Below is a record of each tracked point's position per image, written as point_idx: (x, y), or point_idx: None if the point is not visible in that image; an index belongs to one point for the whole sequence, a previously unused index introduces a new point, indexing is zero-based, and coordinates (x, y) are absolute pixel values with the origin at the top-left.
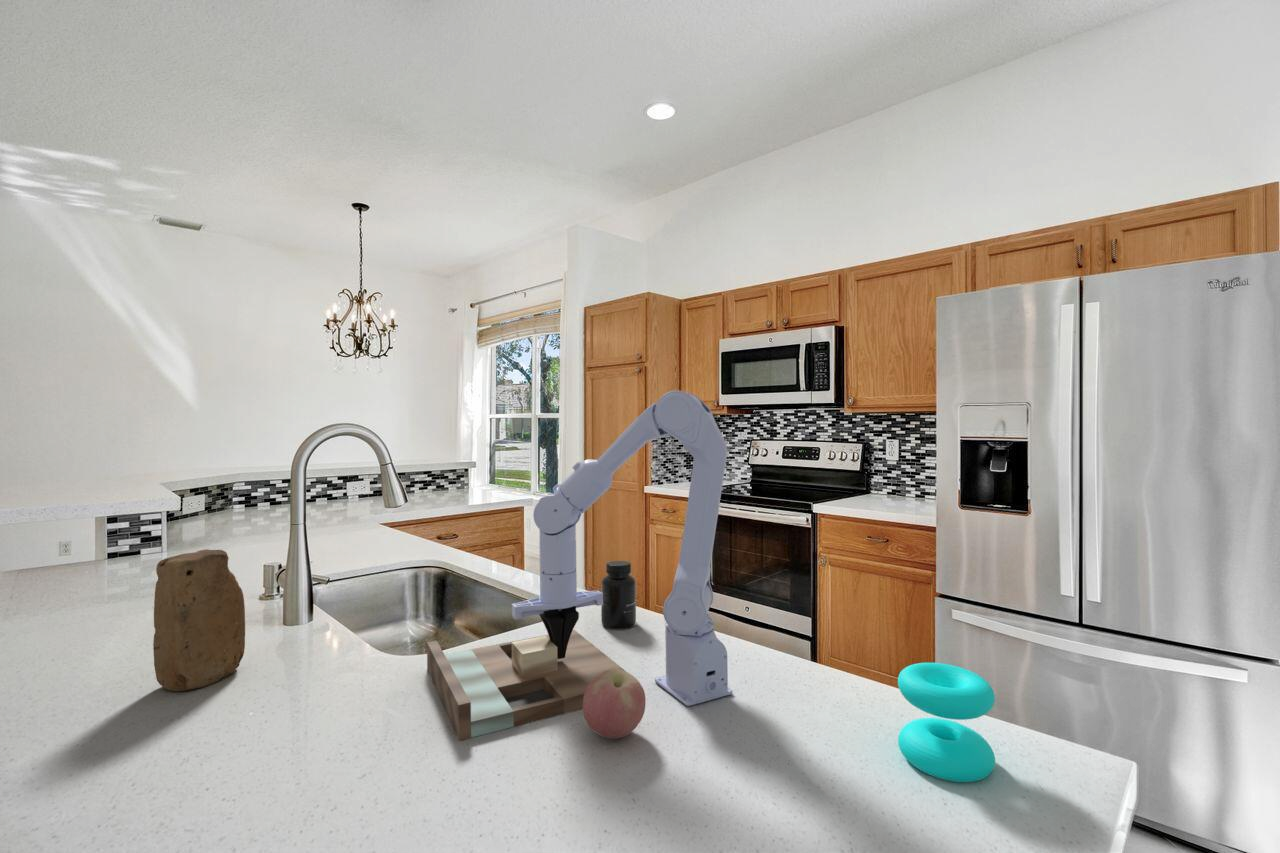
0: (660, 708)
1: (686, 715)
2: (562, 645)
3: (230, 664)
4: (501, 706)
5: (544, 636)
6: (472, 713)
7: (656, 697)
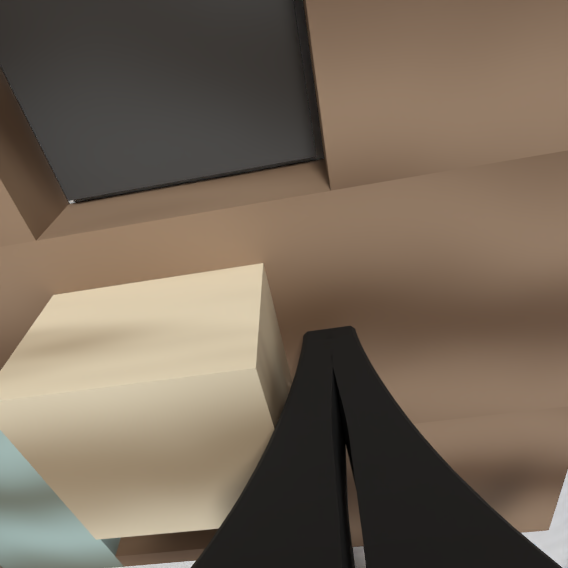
0: (528, 537)
1: (559, 563)
2: (350, 462)
3: None
4: (82, 545)
5: (247, 376)
6: (1, 555)
7: (563, 503)
